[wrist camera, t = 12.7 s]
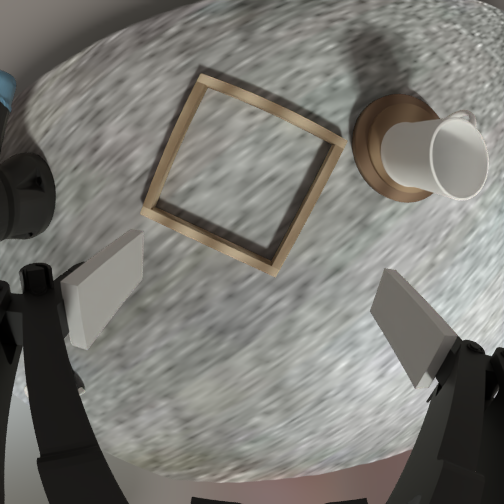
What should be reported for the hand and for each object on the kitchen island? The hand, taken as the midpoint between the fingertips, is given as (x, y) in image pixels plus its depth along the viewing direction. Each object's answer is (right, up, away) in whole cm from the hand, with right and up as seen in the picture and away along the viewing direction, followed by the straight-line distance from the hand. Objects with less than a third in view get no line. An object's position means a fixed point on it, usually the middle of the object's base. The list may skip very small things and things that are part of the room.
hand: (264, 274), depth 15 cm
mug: (+21, +15, +17) cm, 31 cm away
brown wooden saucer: (+20, +16, +20) cm, 32 cm away
